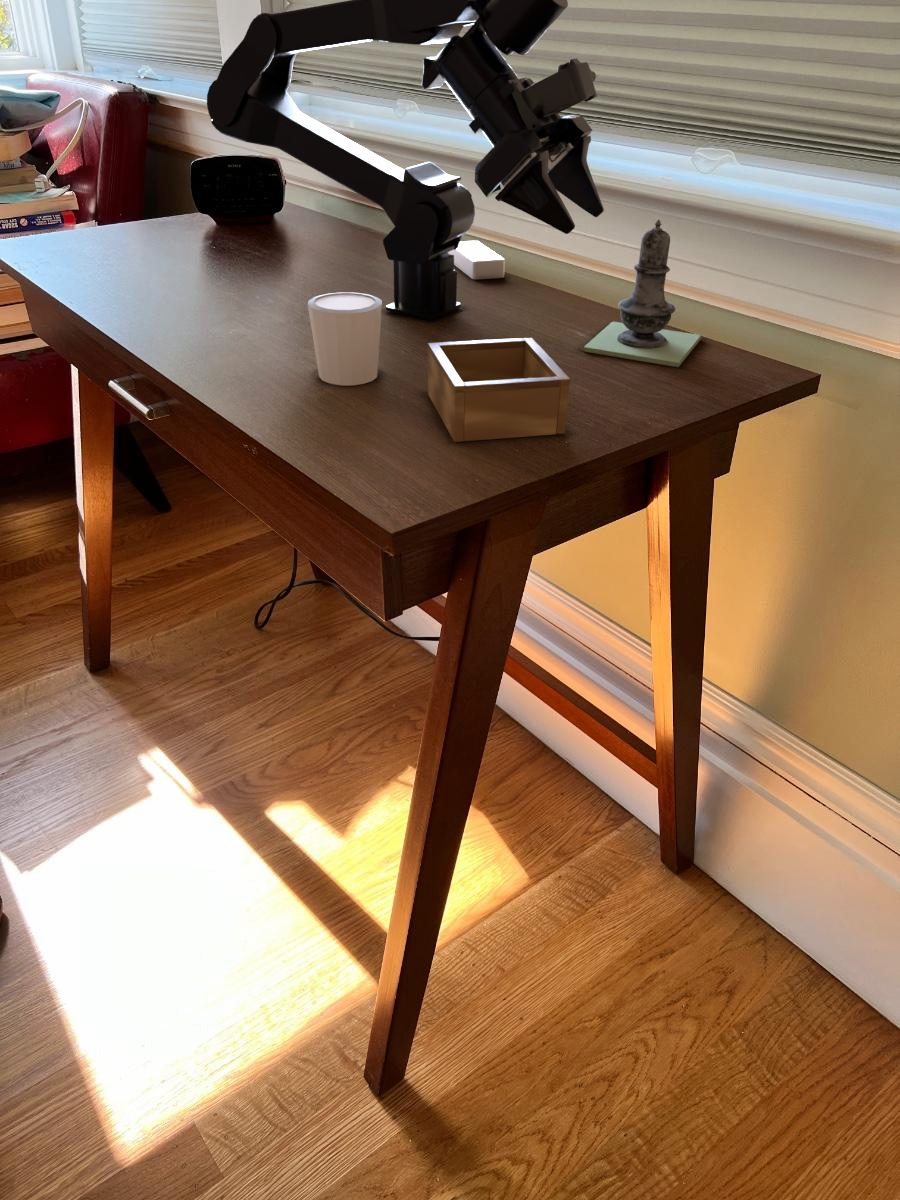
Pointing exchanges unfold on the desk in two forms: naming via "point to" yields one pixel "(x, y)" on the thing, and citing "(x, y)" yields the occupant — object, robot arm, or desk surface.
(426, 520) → the desk surface
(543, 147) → the robot arm
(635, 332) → the salt shaker
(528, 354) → the open wooden box
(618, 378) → the desk surface
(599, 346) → the mat
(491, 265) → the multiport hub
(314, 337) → the white tapered cup
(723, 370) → the desk surface
